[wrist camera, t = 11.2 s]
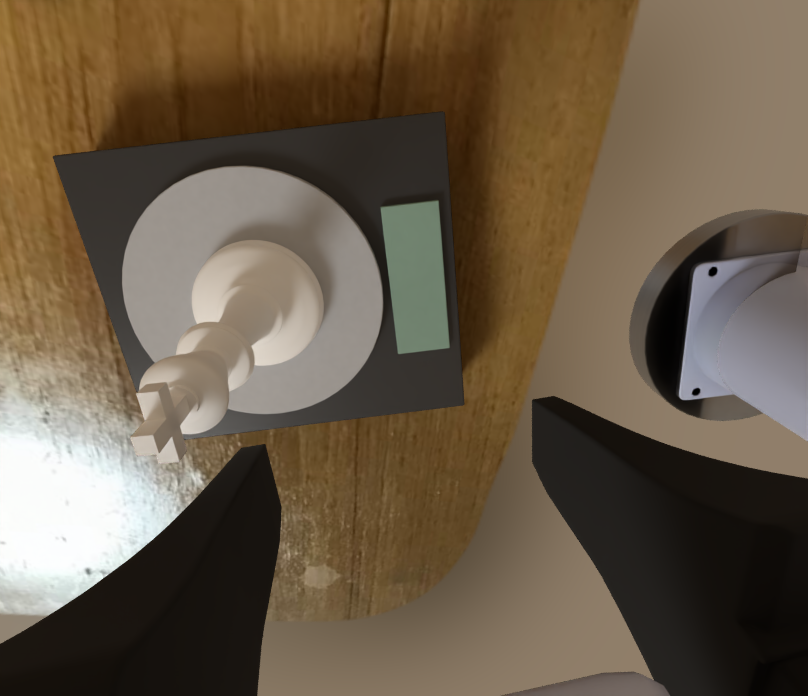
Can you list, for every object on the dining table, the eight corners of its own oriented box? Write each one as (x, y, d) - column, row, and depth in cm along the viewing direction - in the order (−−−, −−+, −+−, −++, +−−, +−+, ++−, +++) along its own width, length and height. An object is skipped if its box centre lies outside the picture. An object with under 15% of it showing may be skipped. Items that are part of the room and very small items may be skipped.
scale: (436, 117, 19) (446, 109, 16) (455, 381, 24) (466, 411, 21) (91, 156, 19) (41, 155, 16) (176, 416, 23) (149, 450, 21)
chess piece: (211, 366, 19) (60, 555, 10) (181, 245, 17) (-39, 339, 8) (331, 355, 19) (292, 531, 10) (313, 233, 18) (246, 312, 8)
